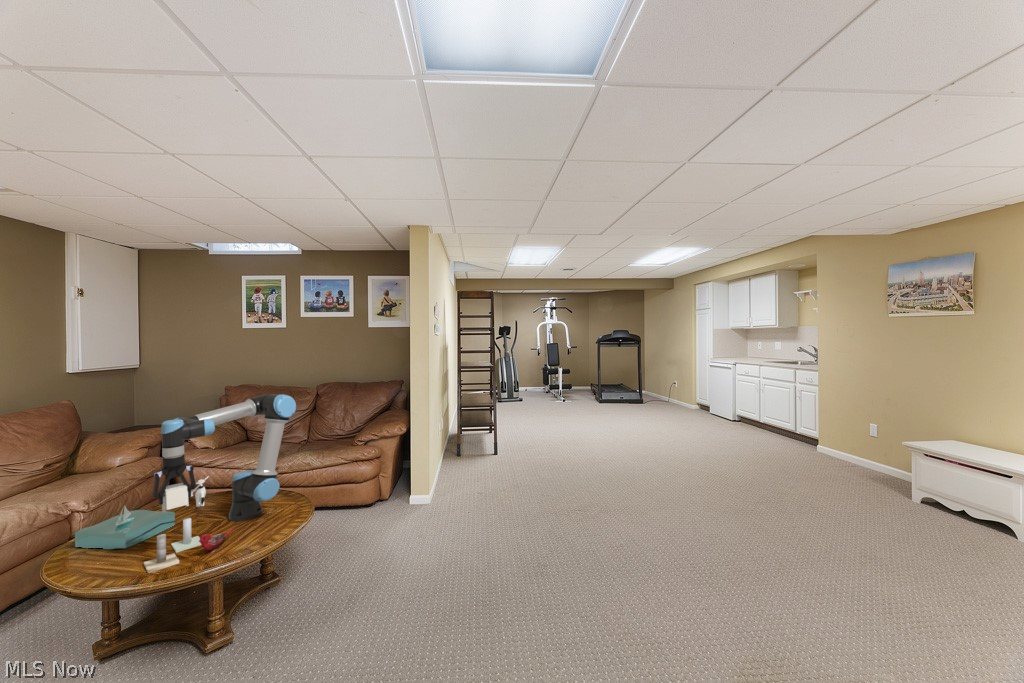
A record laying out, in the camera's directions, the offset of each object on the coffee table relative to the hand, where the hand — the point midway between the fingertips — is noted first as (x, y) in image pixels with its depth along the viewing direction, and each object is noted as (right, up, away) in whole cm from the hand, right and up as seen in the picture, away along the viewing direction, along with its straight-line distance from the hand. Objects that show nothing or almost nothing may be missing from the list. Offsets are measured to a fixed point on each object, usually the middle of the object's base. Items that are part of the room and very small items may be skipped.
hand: (175, 508), depth 185 cm
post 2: (-1, -20, +8) cm, 22 cm away
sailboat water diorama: (-38, -21, +18) cm, 47 cm away
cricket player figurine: (-30, -21, +54) cm, 65 cm away
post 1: (+1, -20, -8) cm, 22 cm away
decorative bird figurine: (+16, -20, +4) cm, 26 cm away
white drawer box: (0, +1, 0) cm, 1 cm away
